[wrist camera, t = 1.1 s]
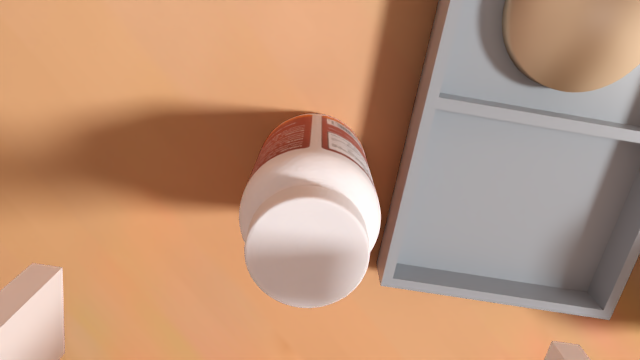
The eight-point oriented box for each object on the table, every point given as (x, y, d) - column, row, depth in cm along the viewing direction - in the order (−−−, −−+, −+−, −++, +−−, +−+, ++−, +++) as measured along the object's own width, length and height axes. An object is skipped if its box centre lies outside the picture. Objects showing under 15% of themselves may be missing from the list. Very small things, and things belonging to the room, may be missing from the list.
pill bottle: (260, 207, 29) (222, 322, 18) (261, 108, 27) (219, 173, 16) (361, 213, 29) (382, 330, 18) (370, 114, 27) (399, 182, 16)
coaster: (483, 76, 25) (491, 79, 24) (528, -83, 23) (539, -88, 21) (619, 99, 26) (633, 103, 24) (679, -54, 23) (697, -57, 22)
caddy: (376, 263, 30) (380, 285, 28) (470, -136, 22) (487, -153, 20) (587, 296, 31) (609, 320, 28) (748, -83, 23) (796, -93, 21)
